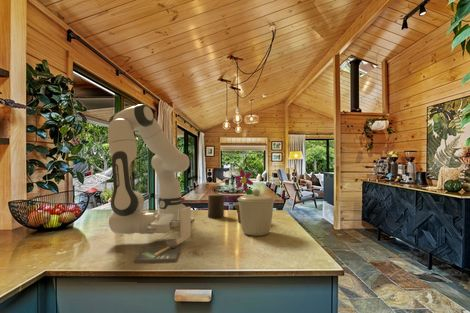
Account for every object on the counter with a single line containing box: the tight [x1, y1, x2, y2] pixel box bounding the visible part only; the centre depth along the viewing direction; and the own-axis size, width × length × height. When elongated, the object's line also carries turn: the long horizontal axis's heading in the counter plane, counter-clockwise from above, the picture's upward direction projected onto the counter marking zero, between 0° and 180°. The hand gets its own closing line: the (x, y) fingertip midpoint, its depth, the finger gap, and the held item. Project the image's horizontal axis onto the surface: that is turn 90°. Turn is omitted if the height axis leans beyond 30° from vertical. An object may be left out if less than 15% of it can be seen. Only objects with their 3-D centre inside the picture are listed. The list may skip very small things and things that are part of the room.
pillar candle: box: [207, 193, 225, 219], centre depth 168 cm, size 10×10×15 cm
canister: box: [236, 188, 276, 237], centre depth 131 cm, size 18×18×21 cm
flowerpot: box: [234, 169, 254, 224], centre depth 155 cm, size 14×14×30 cm
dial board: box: [133, 245, 181, 264], centre depth 100 cm, size 14×14×1 cm
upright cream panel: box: [154, 206, 192, 256], centre depth 108 cm, size 26×4×13 cm, turn 163°
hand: (183, 222), depth 117 cm, fingers closed
